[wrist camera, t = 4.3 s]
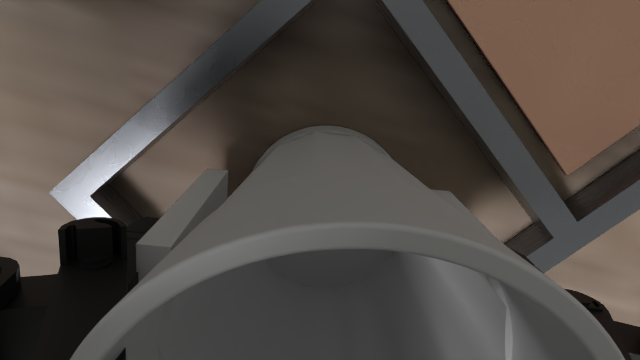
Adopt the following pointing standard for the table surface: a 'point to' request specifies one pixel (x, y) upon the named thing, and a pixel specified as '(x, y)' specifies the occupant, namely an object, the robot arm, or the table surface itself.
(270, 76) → the table surface
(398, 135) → the table surface
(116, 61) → the table surface
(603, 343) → the cup
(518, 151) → the two-slot metal tray
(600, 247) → the table surface
